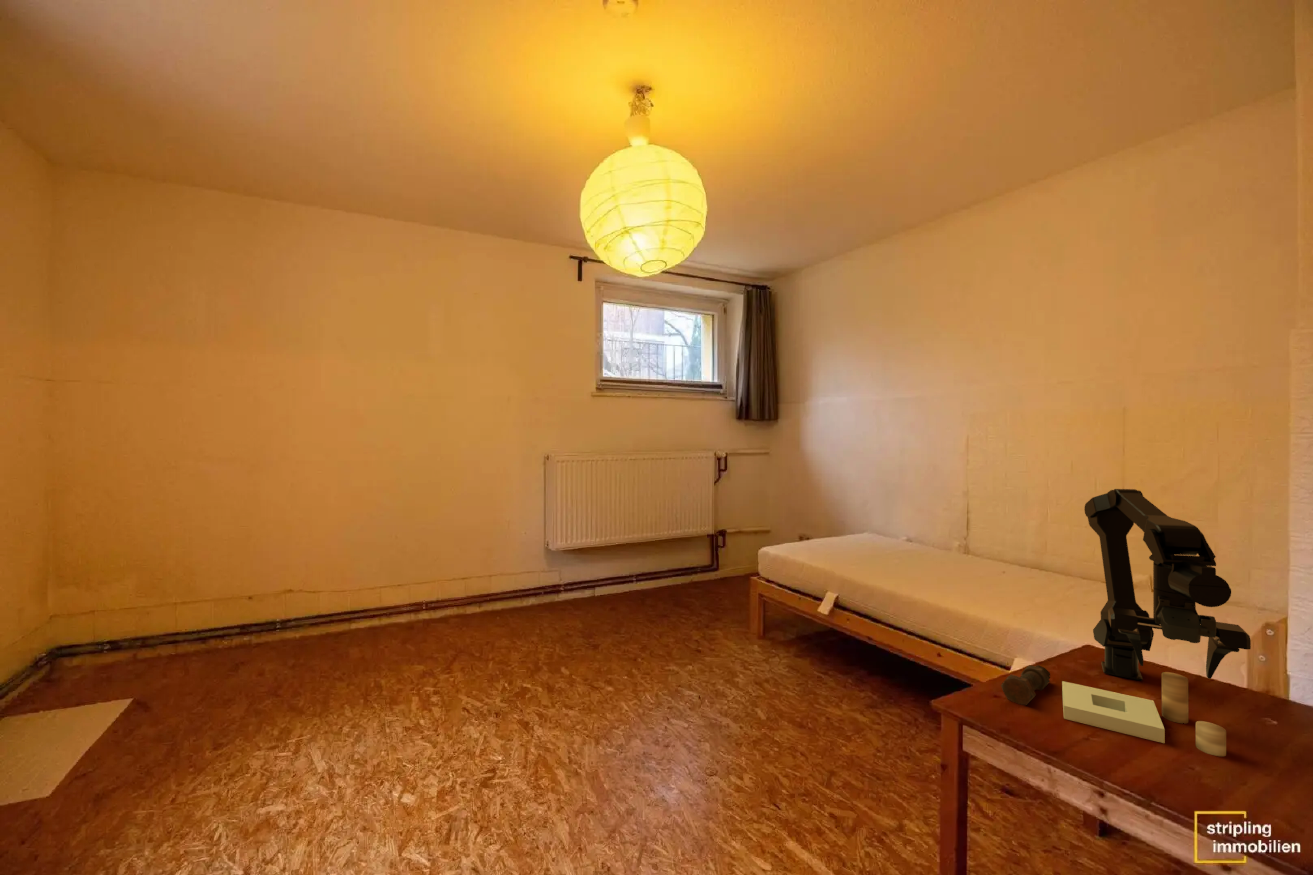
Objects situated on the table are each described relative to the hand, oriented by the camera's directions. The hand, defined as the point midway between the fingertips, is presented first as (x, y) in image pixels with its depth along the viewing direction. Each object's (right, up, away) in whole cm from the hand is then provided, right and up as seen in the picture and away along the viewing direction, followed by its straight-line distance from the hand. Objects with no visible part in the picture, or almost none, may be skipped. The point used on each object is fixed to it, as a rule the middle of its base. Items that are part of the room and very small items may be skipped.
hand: (1174, 671), depth 100 cm
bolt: (-20, -10, +11) cm, 24 cm away
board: (-12, -9, +1) cm, 15 cm away
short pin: (-3, -9, -10) cm, 14 cm away
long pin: (0, -9, 0) cm, 9 cm away
